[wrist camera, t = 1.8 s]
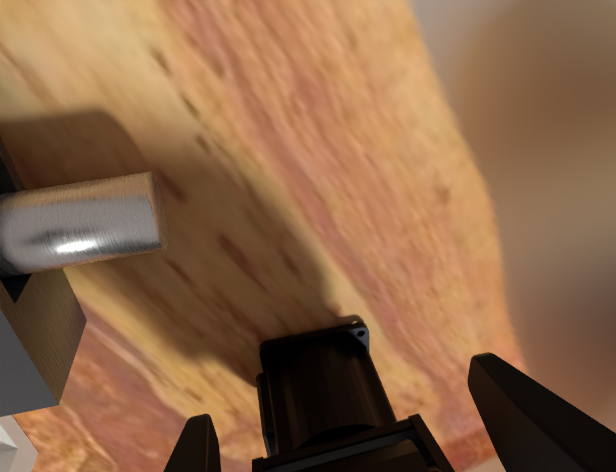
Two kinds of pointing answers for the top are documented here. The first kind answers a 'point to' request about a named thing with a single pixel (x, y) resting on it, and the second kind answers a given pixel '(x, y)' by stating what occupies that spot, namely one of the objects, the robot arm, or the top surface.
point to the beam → (35, 328)
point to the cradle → (15, 447)
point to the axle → (81, 223)
